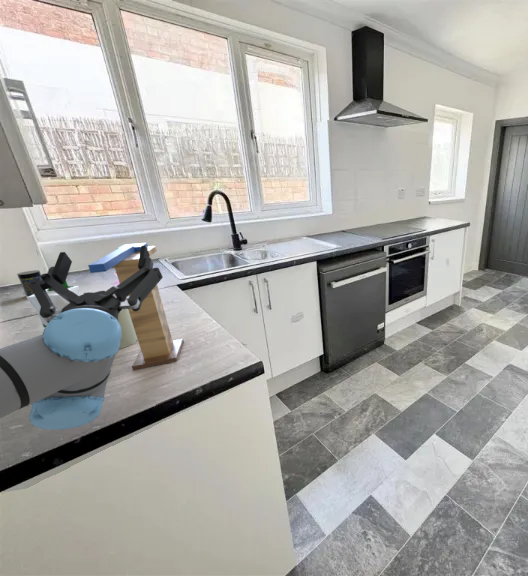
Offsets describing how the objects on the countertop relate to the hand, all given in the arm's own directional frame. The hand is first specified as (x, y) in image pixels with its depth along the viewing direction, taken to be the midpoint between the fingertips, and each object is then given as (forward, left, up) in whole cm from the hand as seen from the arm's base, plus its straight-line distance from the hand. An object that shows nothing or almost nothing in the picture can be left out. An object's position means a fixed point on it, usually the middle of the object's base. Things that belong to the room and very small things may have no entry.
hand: (107, 253), depth 66 cm
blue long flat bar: (+2, +6, -2) cm, 7 cm away
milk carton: (-13, +37, -33) cm, 51 cm away
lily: (+6, +91, -33) cm, 97 cm away
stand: (+4, +11, -32) cm, 34 cm away
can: (-3, +30, -33) cm, 44 cm away
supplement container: (-25, +114, -33) cm, 121 cm away
